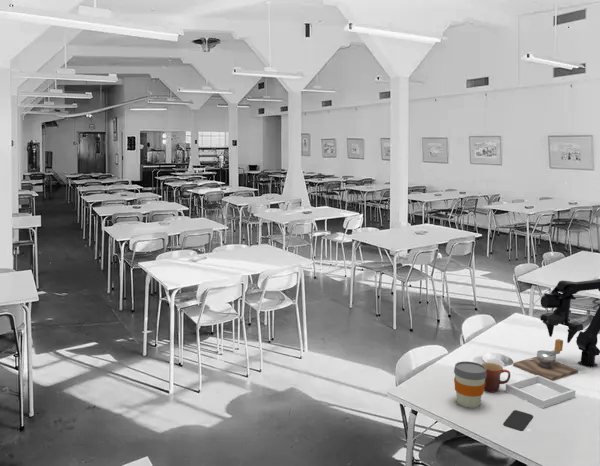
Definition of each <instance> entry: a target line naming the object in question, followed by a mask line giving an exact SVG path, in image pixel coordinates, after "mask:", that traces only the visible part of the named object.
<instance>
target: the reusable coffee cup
mask: <svg viewBox="0 0 600 466" xmlns="http://www.w3.org/2000/svg"><path fill="white" fill-rule="evenodd" d="M481 364H482V363H477V362H474V361H466V360H465V361H458V362H456V363H455V364H454V369H453V373H454V378H453V381H454V390H455V392H456V393H455V394H456V402H457V404H458V405H460V406H462V407H465V408H472V409H473V408H477V407H479V406H480V405H481V400H482V396H483V395H484V391H485V390H484V387H485V378H486V376H487V374H486V368H485V367H484V366H483V365H481Z"/></svg>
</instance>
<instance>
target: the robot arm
mask: <svg viewBox="0 0 600 466" xmlns="http://www.w3.org/2000/svg"><path fill="white" fill-rule="evenodd" d="M592 290H598V291H599V292H600V278H598V279H597V278H596V279H592V280H591V279H590V280H583V281H582V280H581V281H571V280H559V281H558V283H557V284H556V286H555V287H554V288H553V289H552V290H551V291H550V293H544V294H543V296H542V297H541V298H540V305H541V307H542V308H543V309H554V310H553V313H551V314H550V313H545V314H544V313H543V314H541V316H540V317H539V318H540V321H542V323H543V324H545V326H546V328H547V332H548V336H549V337H550V338H552V336H553V334H554V328H555V327H556V326H558V325H562V326H566V327H567V332H568V333H567V339H566V340H567V343H568V344H570V342H571V341H572V339H573V338H574V336H575V335H576V334H577V333H578V335H577V336H576V339H575V340H576V341H575V342H576V346H577V348H578V350H580V351H581V355H580V356H581V357H580V360H579V361H577V364H579V365H582V366H585V367H587V368H593V367H596V366H598V365H599V364H597V363H596V362H595V361H596V356H599V355H600V349H599V347H598V346H597V345H598V334H599V333H600V305H599V306H598V308H597V310H596V312H595V313H594V316H593V318H592V319H591V321H590V323H589V325H588V326H587V329H586V330H584V325H583V323H580V322H576V321H574V322H570V321H571V319H570V318H569V317H570V314H571V313H572V310H571V303H572V300H576V297H575V296H574V295H575V294H577V293H579V292H585V291H592ZM583 330H584V331H583Z"/></svg>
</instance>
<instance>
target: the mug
mask: <svg viewBox="0 0 600 466" xmlns="http://www.w3.org/2000/svg"><path fill="white" fill-rule="evenodd" d="M480 364H481V365H483V366H484V367H485V368H486V374H487V376H486V378H485V387H484V391H486V392H489V393H496V392H498V391H499V389H500V386H501V385H504V384H505V385H506V384H508V382H509V381H510V379H511V372H510V371H509V370H508V369H504V368H503V366H502V365H500V364H497V363H494V362H483V363H480ZM503 373H507V378H506V379H505V380H501V374H503Z"/></svg>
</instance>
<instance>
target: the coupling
mask: <svg viewBox="0 0 600 466" xmlns="http://www.w3.org/2000/svg"><path fill="white" fill-rule="evenodd" d="M563 345H564V340H563V339H559V338H558V339H555V342H554V349H553V350H538V351H537V352H536V357H537V360H539V361H542V362H546V363H553V362H555V361H556V355H559V354H560V353H561V352H562V351H563V347H564V346H563Z"/></svg>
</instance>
